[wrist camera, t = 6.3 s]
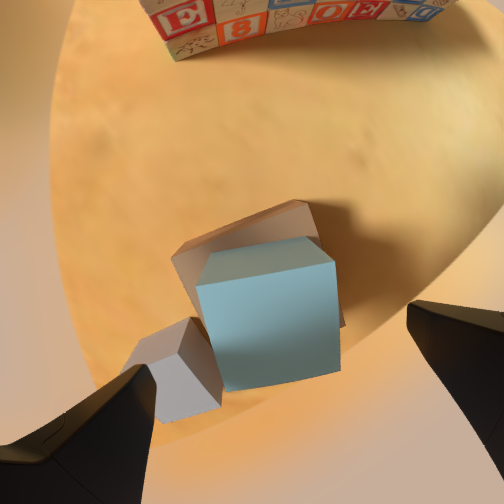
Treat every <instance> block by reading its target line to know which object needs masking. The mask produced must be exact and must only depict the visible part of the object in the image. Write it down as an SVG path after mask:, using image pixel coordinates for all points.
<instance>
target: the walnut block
mask: <svg viewBox="0 0 504 504" xmlns="http://www.w3.org/2000/svg"><path fill="white" fill-rule="evenodd" d="M303 236H306V237H307V238H308V239H309V240H310V241H312V242H313V243H314V244H315V245H316V246H318V247H319V248H320V249H321V250H322V251H324V250H323V247H322V244H321V241H320V238H319V235H318V232H317V229H316V226H315V223H314V220H313V217H312V214H311V211H310V209H309V206H308V203H304V202H301V201H297V200H290V201H287V202H285V203H282V204H279V205H277V206H274V207H272V208H269V209H266V210H264V211H261V212H259V213H256V214H254V215H251V216H249V217H246V218H244V219H241V220H239V221H236V222H234V223H231V224H229V225H226V226H224V227H221V228H219V229H216V230H214V231H212V232H209V233H207V234H204V235H202V236H199V237H197V238H195V239H192V240H190V241H188V242H185V243H184V244H183V245H182V246H181V247H180V248H179V249H178V250H177V252H176V253H175V254H174V255H173V256H172V257H171V261H172V263H173V265H174V267H175V269H176V271H177V273H178V276H179V278H180V280H181V282H182V284H183V286H184V288H185V290H186V292H187V294H188V296H189V298H190V300H191V302H192V304H193V306H194V308H195V310H196V312H197V314H198V316H199V318H200V320H201V322H202V323H203V325H204V327H205V329H206V331H207V327H206V324H205V320H204V316H203V313H202V309H201V305H200V301H199V298H198V294H197V290H196V284H197V282H198V280H199V278H200V276H201V273H202V271H203V269H204V267H205V265H206V263H207V260H208V258H209V256H210V254H211V253H213V252H219V251H224V250H230V249H236V248H241V247H247V246H252V245H258V244H263V243H269V242H275V241H280V240H286V239H292V238H297V237H303ZM338 306H339V326H340V328H342V327H344V326H346V324H345V321H344V317H343V313H342V310H341V306H340V303H339V299H338ZM207 333H208V331H207ZM208 335H209V334H208Z"/></svg>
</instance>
